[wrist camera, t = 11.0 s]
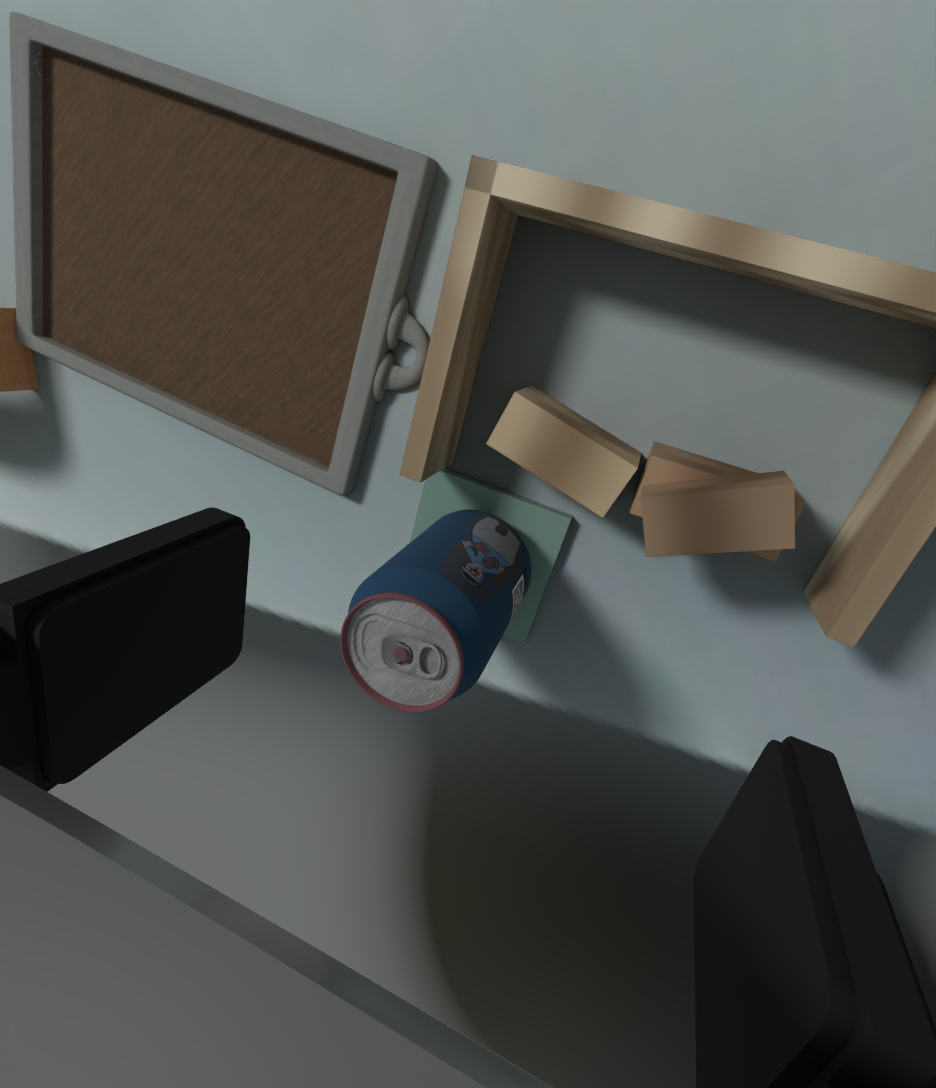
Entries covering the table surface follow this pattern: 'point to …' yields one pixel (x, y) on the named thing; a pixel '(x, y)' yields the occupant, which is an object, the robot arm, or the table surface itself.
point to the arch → (14, 356)
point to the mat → (526, 517)
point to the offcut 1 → (564, 449)
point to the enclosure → (821, 270)
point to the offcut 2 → (693, 478)
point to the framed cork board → (212, 249)
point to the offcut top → (719, 515)
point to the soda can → (436, 611)
